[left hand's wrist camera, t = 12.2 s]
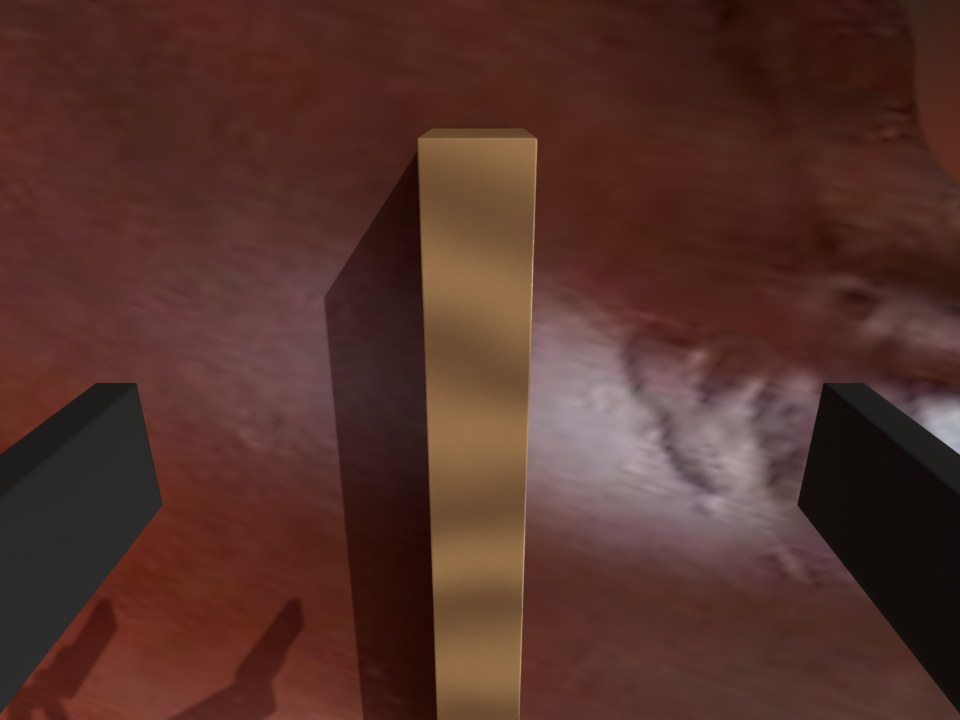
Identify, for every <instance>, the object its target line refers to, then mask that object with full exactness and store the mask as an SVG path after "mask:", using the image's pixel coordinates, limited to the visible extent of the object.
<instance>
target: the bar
mask: <svg viewBox="0 0 960 720" xmlns="http://www.w3.org/2000/svg"><path fill="white" fill-rule="evenodd" d="M417 154H418V183H419V212H420V241H421V270H422V299H423V328H424V357H425V386H426V415H427V444H428V473H429V502H430V531H431V560H432V589H433V618H434V647H435V676H436V705H437V720H519V714H520V681H521V649H522V617H523V585H524V552H525V520H526V488H527V455H528V423H529V391H530V359H531V326H532V294H533V262H534V229H535V197H536V165H537V138H535V137H534V136H533V135H531V134H530V133H529V132H527V131H526V130H524V129H431V130H430V131H428V132H427V133H425V134H424V135H422V136H421V137H419V138H418V139H417Z"/></svg>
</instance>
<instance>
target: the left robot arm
mask: <svg viewBox="0 0 960 720" xmlns="http://www.w3.org/2000/svg"><path fill="white" fill-rule="evenodd" d="M161 506H162V500H161V496H160V491H159V486H158V482H157V477H156V472H155V468H154V463H153V458H152V454H151V449H150V444H149V440H148V435H147V430H146V426H145V421H144V417H143V412H142V407H141V403H140V398H139V393H138V389H137V384H136V383H96V384H94V385H93V386H92V387H90V388H89V389H88V390H86V391H85V392H84V393H82V394H81V395H80V396H78V397H77V398H76V399H74V400H73V401H72V402H70V403H69V404H68V405H66V406H65V407H64V408H62V409H61V410H59V411H58V412H57V413H55V414H54V415H53V416H51V417H50V418H49V419H47V420H46V421H45V422H43V423H42V424H41V425H39V426H38V427H37V428H35V429H34V430H33V431H31V432H30V433H29V434H27V435H26V436H25V437H23V438H22V439H21V440H19V441H18V442H17V443H15V444H14V445H13V446H11V447H10V448H8V449H7V450H6V451H4V452H3V453H2V454H0V713H1V712H2V711H3V709H4V708H5V707H6V706H7V704H8V703H9V702H10V700H11V699H12V698H13V697H14V695H15V694H16V693H17V691H18V690H19V689H20V688H21V686H22V685H23V684H24V682H25V681H26V680H27V679H28V677H29V676H30V675H31V673H32V672H33V671H34V670H35V668H36V667H37V666H38V664H39V663H40V662H41V661H42V659H43V658H44V657H45V655H46V654H47V653H48V652H49V650H50V649H51V648H52V646H53V645H54V644H55V643H56V641H57V640H58V639H59V637H60V636H61V635H62V634H63V632H64V631H65V630H66V628H67V627H68V626H69V625H70V623H71V622H72V621H73V619H74V618H75V617H76V616H77V614H78V613H79V612H80V611H81V609H82V608H83V607H84V605H85V604H86V603H87V602H88V600H89V599H90V598H91V596H92V595H93V594H94V593H95V591H96V590H97V589H98V587H99V586H100V585H101V584H102V582H103V581H104V580H105V578H106V577H107V576H108V575H109V573H110V572H111V571H112V569H113V568H114V567H115V566H116V564H117V563H118V562H119V560H120V559H121V558H122V557H123V555H124V554H125V553H126V551H127V550H128V549H129V548H130V546H131V545H132V544H133V542H134V541H135V540H136V539H137V537H138V536H139V535H140V533H141V532H142V531H143V530H144V528H145V527H146V526H147V524H148V523H149V522H150V521H151V519H152V518H153V517H154V515H155V514H156V513H157V512H158V510H159V509H160V508H161ZM798 506H799V508H800V509H801V510H802V512H803V513H804V514H805V515H806V517H807V518H808V519H809V521H810V522H811V523H812V524H813V526H814V527H815V528H816V530H817V531H818V532H819V533H820V535H821V536H822V537H823V539H824V540H825V541H826V542H827V544H828V545H829V546H830V548H831V549H832V550H833V551H834V553H835V554H836V555H837V557H838V558H839V559H840V560H841V562H842V563H843V564H844V566H845V567H846V568H847V569H848V571H849V572H850V573H851V575H852V576H853V577H854V578H855V580H856V581H857V582H858V584H859V585H860V586H861V587H862V589H863V590H864V591H865V593H866V594H867V595H868V596H869V598H870V599H871V600H872V602H873V603H874V604H875V605H876V607H877V608H878V609H879V611H880V612H881V613H882V614H883V616H884V617H885V618H886V619H887V621H888V622H889V623H890V625H891V626H892V627H893V628H894V630H895V631H896V632H897V634H898V635H899V636H900V637H901V639H902V640H903V641H904V643H905V644H906V645H907V646H908V648H909V649H910V650H911V652H912V653H913V654H914V655H915V657H916V658H917V659H918V661H919V662H920V663H921V664H922V666H923V667H924V668H925V670H926V671H927V672H928V673H929V675H930V676H931V677H932V679H933V680H934V681H935V682H936V684H937V685H938V686H939V688H940V689H941V690H942V691H943V693H944V694H945V695H946V697H947V698H948V699H949V700H950V702H951V703H952V704H953V706H954V707H955V708H956V709H957V711H958V712H959V713H960V454H958V453H957V452H956V451H954V450H953V449H952V448H950V447H949V446H947V445H946V444H945V443H943V442H942V441H941V440H939V439H938V438H937V437H935V436H934V435H933V434H931V433H930V432H929V431H927V430H926V429H925V428H923V427H922V426H921V425H919V424H918V423H917V422H915V421H914V420H913V419H911V418H910V417H909V416H907V415H906V414H905V413H903V412H902V411H901V410H899V409H898V408H896V407H895V406H894V405H892V404H891V403H890V402H888V401H887V400H886V399H884V398H883V397H882V396H880V395H879V394H878V393H876V392H875V391H874V390H872V389H871V388H870V387H868V386H867V385H866V384H864V383H824V384H823V389H822V393H821V398H820V403H819V407H818V412H817V416H816V421H815V426H814V430H813V435H812V440H811V444H810V449H809V454H808V458H807V463H806V468H805V472H804V477H803V482H802V486H801V491H800V496H799V500H798Z"/></svg>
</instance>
